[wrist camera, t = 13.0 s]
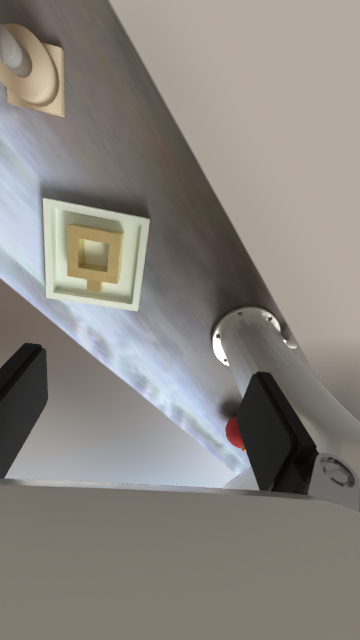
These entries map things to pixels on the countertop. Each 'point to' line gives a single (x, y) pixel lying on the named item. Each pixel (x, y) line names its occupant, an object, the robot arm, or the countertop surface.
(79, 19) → the countertop surface
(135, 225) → the tray
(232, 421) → the onion
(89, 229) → the ring
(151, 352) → the countertop surface
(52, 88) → the beige post on base
